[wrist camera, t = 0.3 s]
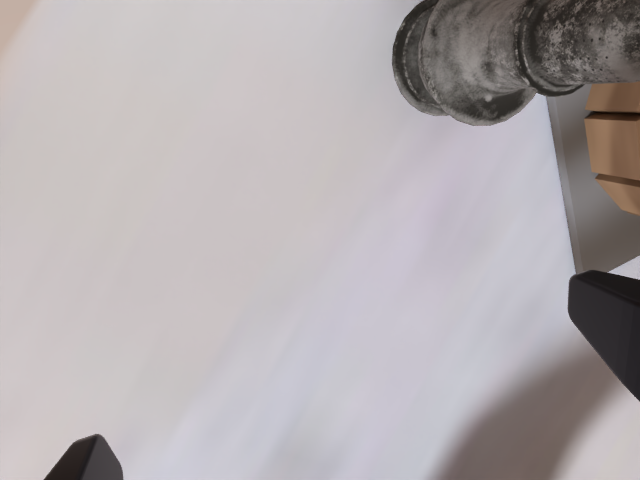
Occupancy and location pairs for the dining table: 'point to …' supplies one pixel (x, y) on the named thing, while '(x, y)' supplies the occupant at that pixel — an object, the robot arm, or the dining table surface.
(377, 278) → the dining table surface
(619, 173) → the walnut collar
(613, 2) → the salt shaker
